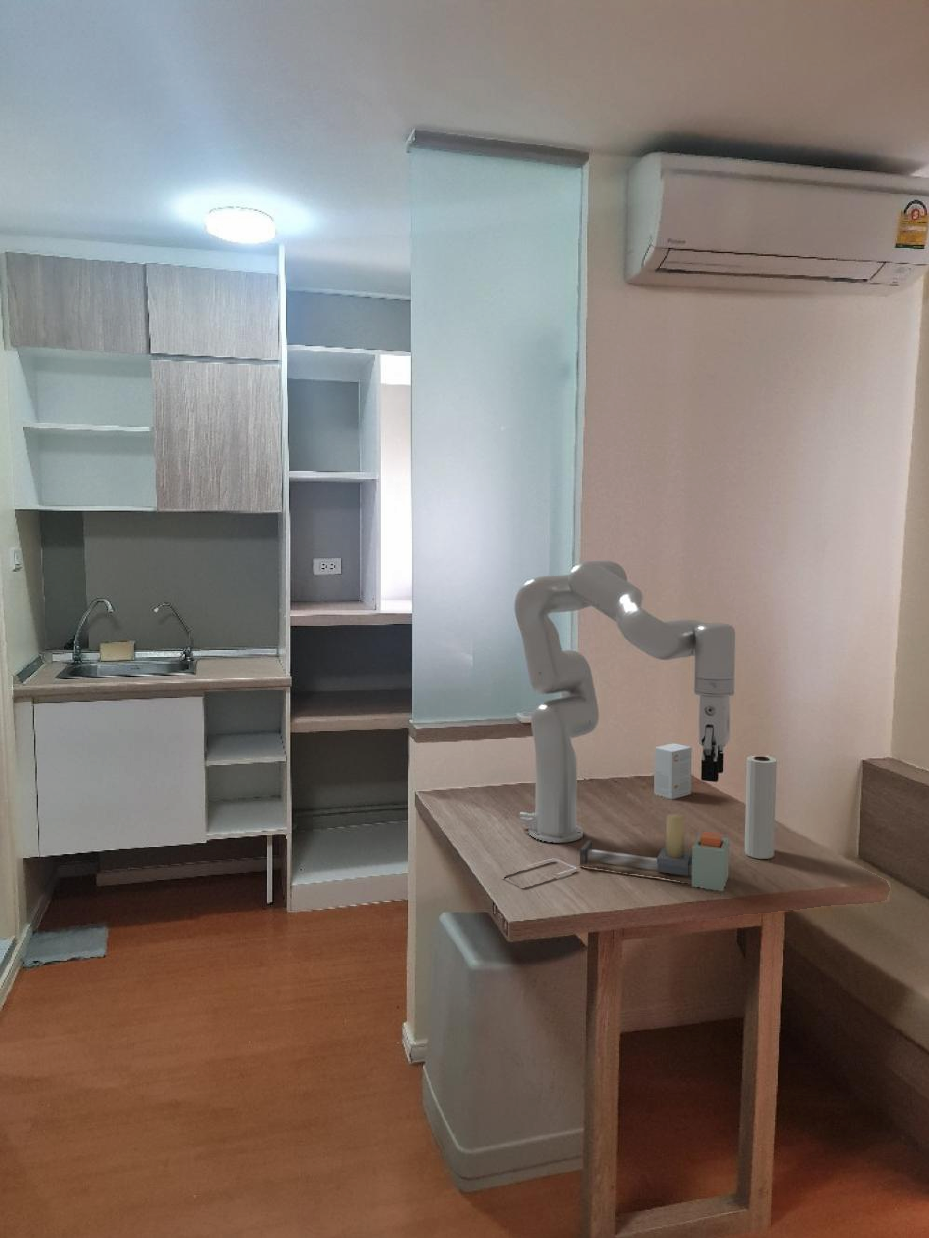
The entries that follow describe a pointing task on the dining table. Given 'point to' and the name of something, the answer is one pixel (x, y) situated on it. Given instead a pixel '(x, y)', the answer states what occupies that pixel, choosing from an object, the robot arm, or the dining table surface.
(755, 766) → the paper towel roll
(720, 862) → the green button housing
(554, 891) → the dining table surface
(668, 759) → the small box
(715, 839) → the button
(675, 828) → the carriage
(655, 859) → the rail base
